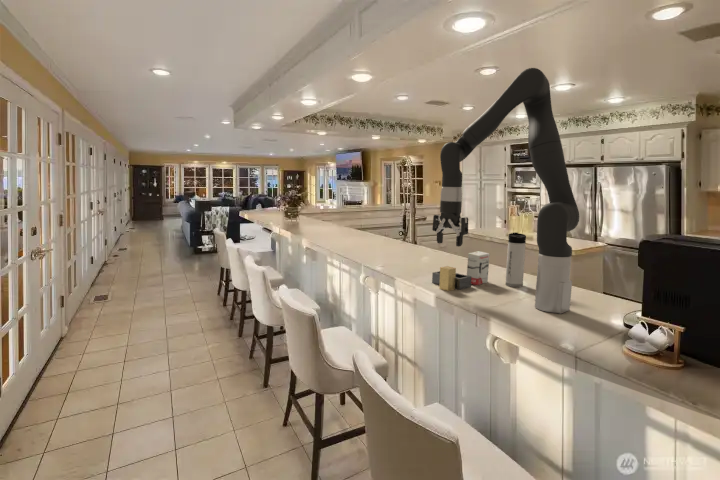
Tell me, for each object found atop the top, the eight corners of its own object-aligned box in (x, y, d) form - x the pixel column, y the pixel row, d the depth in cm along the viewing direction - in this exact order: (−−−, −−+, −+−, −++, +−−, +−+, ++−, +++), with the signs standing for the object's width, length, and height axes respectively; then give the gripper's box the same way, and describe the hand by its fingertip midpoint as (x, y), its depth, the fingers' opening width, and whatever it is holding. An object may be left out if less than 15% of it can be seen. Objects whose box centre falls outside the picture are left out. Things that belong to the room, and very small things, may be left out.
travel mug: (519, 283, 161) (523, 232, 158) (524, 287, 154) (528, 234, 152) (503, 282, 162) (506, 232, 159) (507, 287, 155) (511, 234, 152)
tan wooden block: (454, 289, 151) (455, 267, 150) (447, 291, 149) (448, 269, 147) (446, 287, 154) (447, 266, 153) (439, 288, 152) (440, 267, 150)
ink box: (477, 285, 157) (478, 255, 155) (465, 283, 160) (467, 253, 158) (488, 282, 163) (490, 252, 161) (477, 279, 166) (478, 250, 164)
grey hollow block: (470, 286, 155) (471, 276, 154) (459, 289, 150) (459, 279, 150) (443, 280, 165) (444, 270, 164) (432, 282, 160) (432, 272, 160)
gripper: (474, 200, 143) (471, 246, 146) (442, 198, 154) (440, 241, 157) (461, 201, 139) (458, 248, 141) (428, 199, 150) (427, 243, 152)
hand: (449, 244), depth 149 cm, fingers open, 8 cm apart
